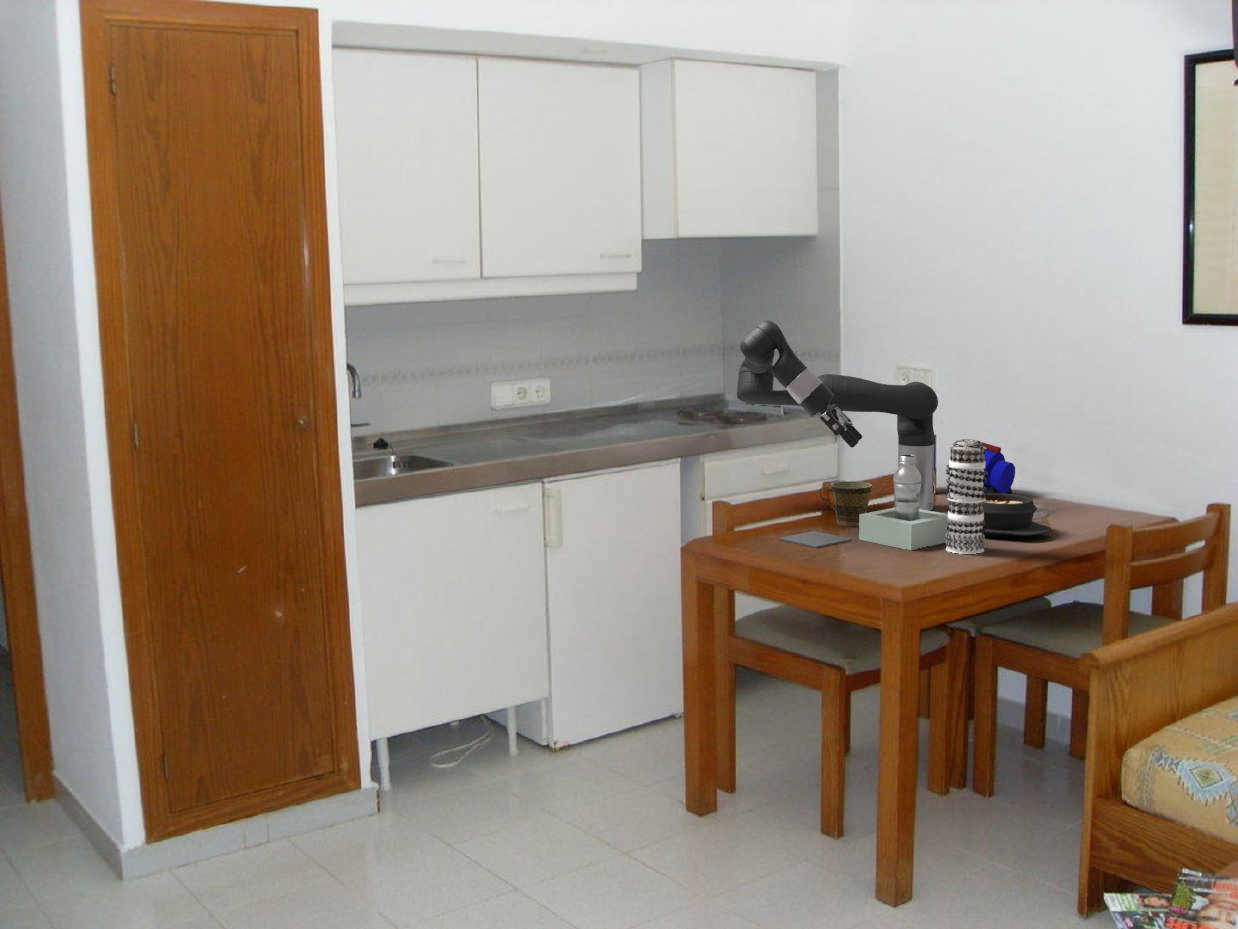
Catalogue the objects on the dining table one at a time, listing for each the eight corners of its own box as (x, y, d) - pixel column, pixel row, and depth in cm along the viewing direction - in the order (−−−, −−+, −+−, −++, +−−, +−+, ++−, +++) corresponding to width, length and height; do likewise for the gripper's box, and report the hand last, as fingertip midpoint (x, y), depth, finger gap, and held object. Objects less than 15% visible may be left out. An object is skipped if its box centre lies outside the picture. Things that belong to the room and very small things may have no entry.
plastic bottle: (926, 541, 302) (928, 456, 299) (902, 544, 300) (903, 458, 297) (910, 536, 308) (912, 452, 305) (886, 538, 306) (887, 454, 303)
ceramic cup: (869, 520, 327) (870, 481, 326) (873, 528, 317) (873, 488, 316) (817, 520, 329) (817, 481, 327) (819, 528, 319) (820, 488, 317)
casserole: (932, 530, 315) (932, 496, 313) (978, 519, 326) (979, 486, 325) (1021, 547, 296) (1023, 510, 294) (1067, 535, 307) (1068, 500, 306)
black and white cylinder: (935, 550, 293) (938, 440, 289) (959, 544, 299) (962, 436, 295) (970, 557, 286) (973, 444, 282) (993, 550, 292) (997, 440, 288)
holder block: (859, 539, 305) (859, 514, 304) (902, 530, 315) (902, 506, 314) (911, 550, 293) (911, 524, 292) (954, 540, 303) (955, 515, 302)
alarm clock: (979, 490, 367) (980, 437, 364) (1019, 495, 358) (1021, 441, 356) (957, 496, 358) (958, 442, 356) (998, 501, 350) (1000, 446, 347)
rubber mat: (778, 539, 306) (778, 538, 306) (814, 532, 314) (814, 531, 314) (816, 548, 297) (816, 546, 297) (851, 540, 304) (851, 539, 304)
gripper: (803, 399, 313) (849, 448, 312) (793, 406, 300) (842, 457, 298) (825, 378, 311) (872, 427, 309) (817, 384, 297) (866, 435, 296)
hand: (857, 442), depth 304 cm, fingers open, 8 cm apart
